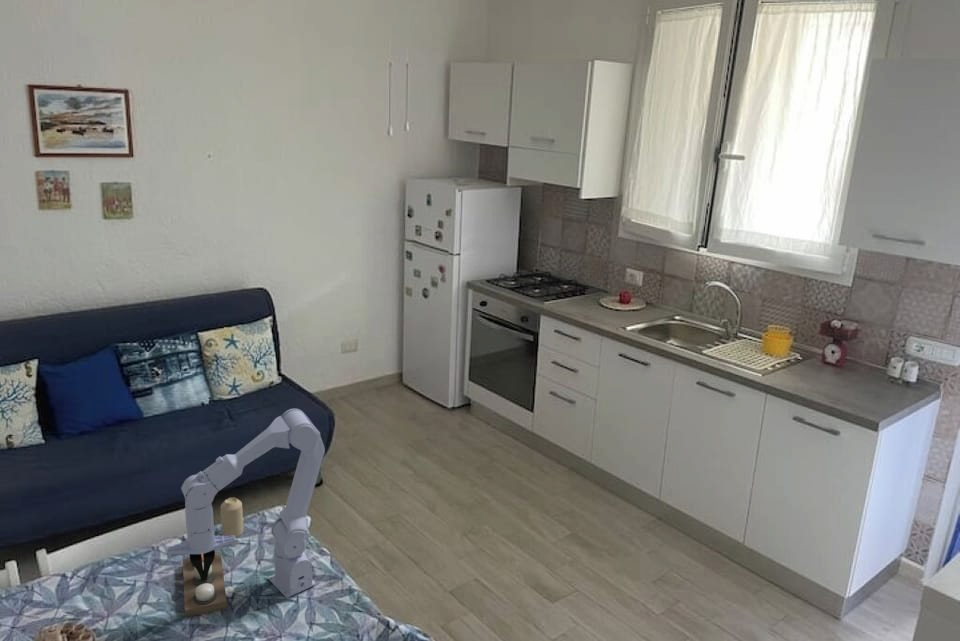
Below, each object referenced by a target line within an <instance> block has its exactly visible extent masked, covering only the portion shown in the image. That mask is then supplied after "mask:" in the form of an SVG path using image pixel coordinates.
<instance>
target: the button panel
mask: <svg viewBox="0 0 960 641" xmlns="http://www.w3.org/2000/svg"><path fill="white" fill-rule="evenodd" d="M222 561H223V560H222V552H220V551H219V552H215V558H214V560H213V562H212V564H211V565H212V574H211V576H209V577H208V579H207V580H203V581H201V579H197V578H196V577H195V575H194V567H195V566H194V565H193V564H192V563H191V561H190V557H187V558H183V559H182V574H183V599H184V600H183V601H184V616H185V617H184V618H189V617H194V616H198V615H199V616H200V615H204V614H208V613H213V612H218V611H222V610H226V609H228V600H227V594H226V592H227V591H226V585H225V576H224V569H223V562H222ZM205 583H209V584H212V585H213V586H214V596H213V597H212V598H211V599H210V600H207V601H199V600H197V599H196V591H195V590H196V588H197V587H198V586H199V585H201V584H205Z"/></svg>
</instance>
